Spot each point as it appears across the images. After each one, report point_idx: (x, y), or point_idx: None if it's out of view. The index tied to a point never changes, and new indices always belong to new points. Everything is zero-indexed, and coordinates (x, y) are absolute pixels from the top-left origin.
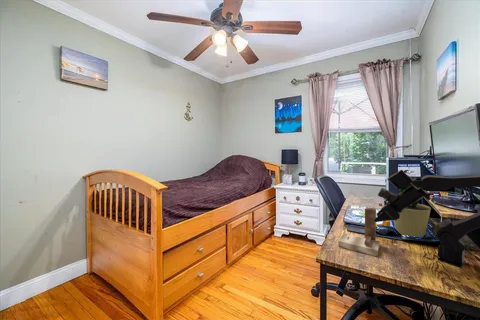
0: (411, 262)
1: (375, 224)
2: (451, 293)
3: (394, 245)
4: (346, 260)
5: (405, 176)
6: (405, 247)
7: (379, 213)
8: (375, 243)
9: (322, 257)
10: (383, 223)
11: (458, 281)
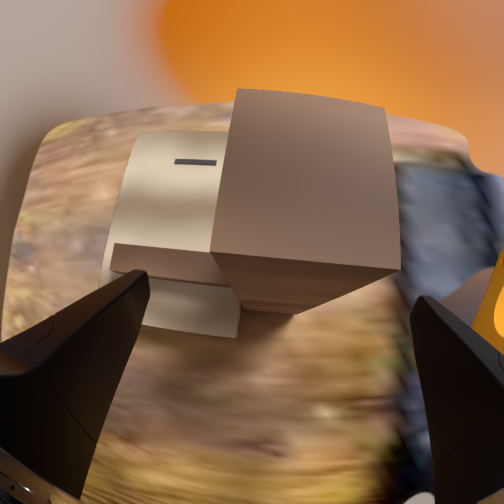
0: (128, 450)
1: (289, 301)
2: None
3: (304, 411)
4: (43, 200)
5: None
6: (303, 457)
7: (428, 333)
8: (184, 310)
9: (49, 132)
10: (499, 342)
11: None
